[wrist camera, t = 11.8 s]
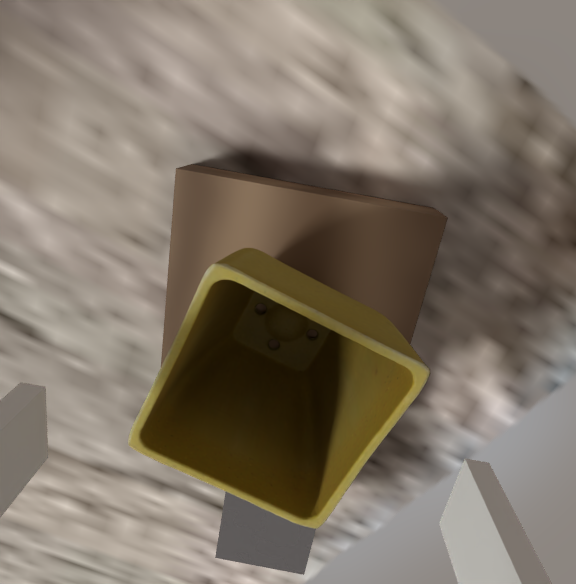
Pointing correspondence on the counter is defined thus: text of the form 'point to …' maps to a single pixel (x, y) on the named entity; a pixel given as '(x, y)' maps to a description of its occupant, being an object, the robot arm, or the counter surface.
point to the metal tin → (262, 537)
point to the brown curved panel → (301, 241)
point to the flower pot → (277, 388)
